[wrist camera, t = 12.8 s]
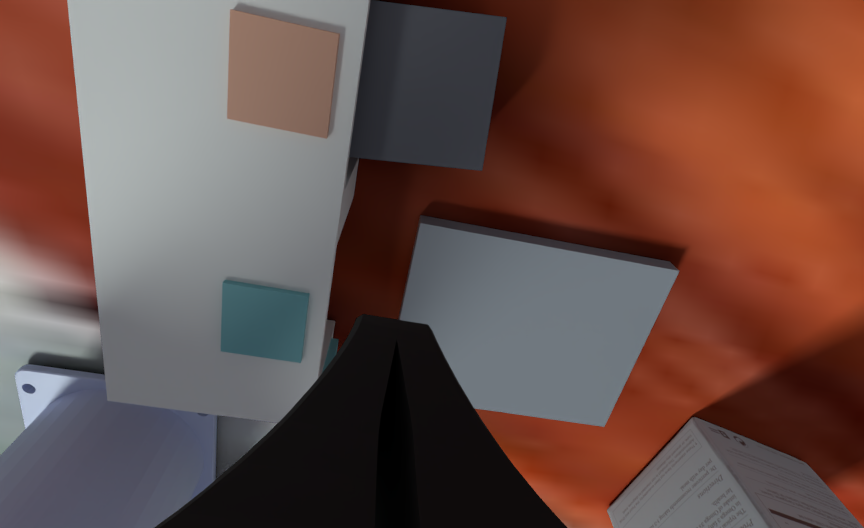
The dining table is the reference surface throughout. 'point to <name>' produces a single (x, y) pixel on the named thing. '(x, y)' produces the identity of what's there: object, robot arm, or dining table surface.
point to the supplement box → (727, 487)
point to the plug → (426, 85)
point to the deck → (533, 317)
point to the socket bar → (216, 192)
